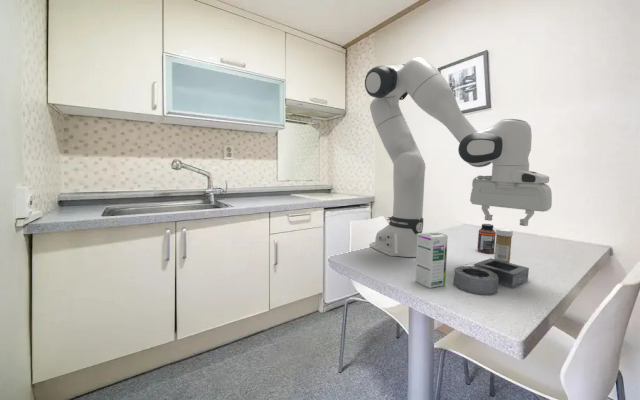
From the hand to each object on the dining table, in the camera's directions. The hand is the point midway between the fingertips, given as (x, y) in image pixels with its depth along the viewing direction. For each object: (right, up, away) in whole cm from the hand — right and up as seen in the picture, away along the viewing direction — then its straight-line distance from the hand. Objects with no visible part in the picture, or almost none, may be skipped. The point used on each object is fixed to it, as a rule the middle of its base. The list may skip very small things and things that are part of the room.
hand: (505, 222), depth 81 cm
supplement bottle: (+13, -15, +31) cm, 36 cm away
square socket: (0, -17, +2) cm, 17 cm away
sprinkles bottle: (+6, -17, +11) cm, 20 cm away
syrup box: (-24, -17, -3) cm, 30 cm away
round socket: (-12, -17, -5) cm, 22 cm away
